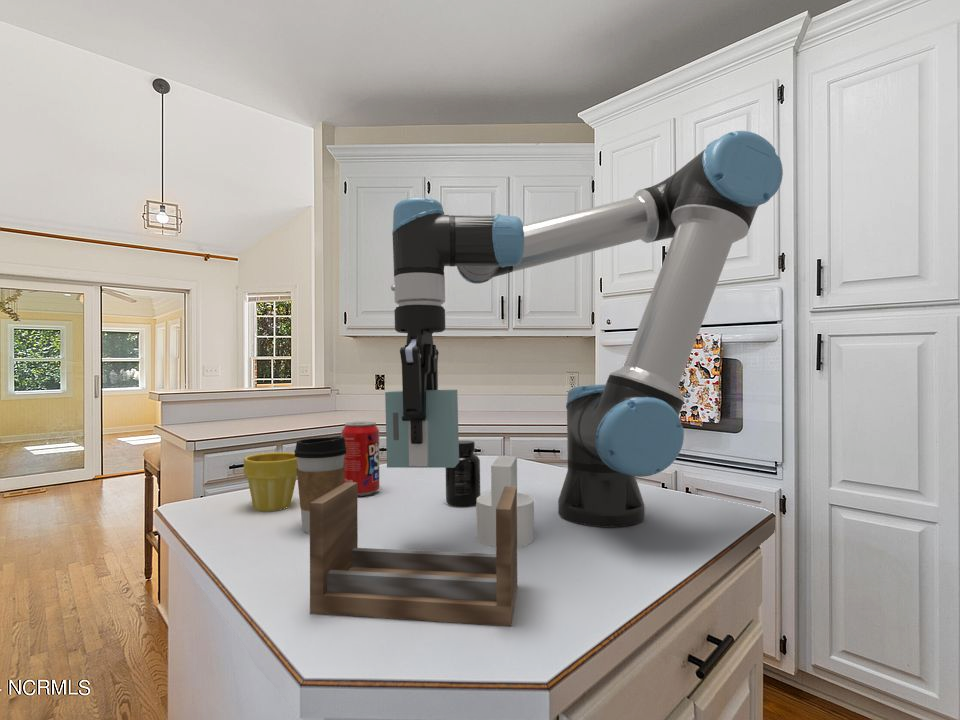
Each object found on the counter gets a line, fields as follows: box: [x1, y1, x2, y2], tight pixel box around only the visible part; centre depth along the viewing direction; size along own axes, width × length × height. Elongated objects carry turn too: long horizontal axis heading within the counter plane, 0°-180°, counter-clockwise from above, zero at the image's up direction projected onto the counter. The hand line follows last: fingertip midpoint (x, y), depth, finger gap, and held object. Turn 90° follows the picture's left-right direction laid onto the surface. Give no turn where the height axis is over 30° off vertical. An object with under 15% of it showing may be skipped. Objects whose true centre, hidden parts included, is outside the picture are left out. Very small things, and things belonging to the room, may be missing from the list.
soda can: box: [340, 421, 380, 497], centre depth 108 cm, size 8×8×15 cm
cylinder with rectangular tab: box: [475, 455, 535, 548], centre depth 79 cm, size 9×9×12 cm
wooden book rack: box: [309, 482, 518, 627], centre depth 59 cm, size 22×10×12 cm, turn 82°
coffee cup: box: [293, 436, 347, 534], centre depth 85 cm, size 8×8×15 cm
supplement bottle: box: [445, 440, 481, 508], centre depth 100 cm, size 7×7×12 cm
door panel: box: [384, 389, 460, 469], centre depth 75 cm, size 10×4×11 cm, turn 82°
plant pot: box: [243, 451, 298, 512], centre depth 98 cm, size 10×10×10 cm
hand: (423, 462), depth 75 cm, fingers closed on door panel, 4 cm apart
